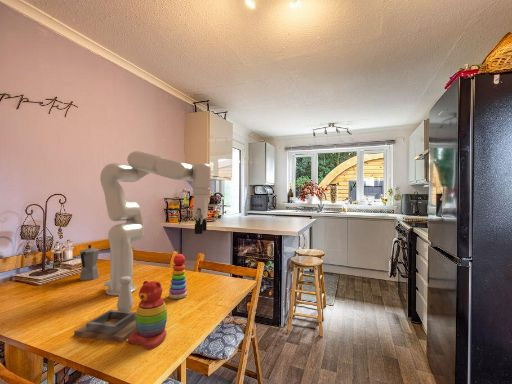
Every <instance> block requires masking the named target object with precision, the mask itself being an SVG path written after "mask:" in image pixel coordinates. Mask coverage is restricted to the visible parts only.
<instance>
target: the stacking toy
mask: <svg viewBox="0 0 512 384" xmlns="http://www.w3.org/2000/svg"><path fill="white" fill-rule="evenodd" d="M172 261H173V263H174V265H173V267H172V268H173V269H172V272H171V273H172V275H171V280H170V285H169V286H170V287H169V289H168V297H169V298H170V299H173V300H178V299H179V300H181V299H183V298H186V297H187V296H188V291H187V282H186V281H187V279H186V274H185V273H186V270H185V268H186V265H185V262H186V258H185V256H184V254H181V253H178V254H175V255H174V257H173V260H172Z"/></svg>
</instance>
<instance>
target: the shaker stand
mask: <svg viewBox="0 0 512 384" xmlns="http://www.w3.org/2000/svg"><path fill="white" fill-rule="evenodd" d="M136 313H137V311H136V312H134V311H128V312H127V311H119V310H118V309H117V310H115V309H109V310H107V311H106V312H104V313H102V314H100V315H98V316H97V317H95V318H93V319H92V320H90V321H87V322H86V323H85V324H84V325H82V326H80V327H79V328H77V329H75V330H74V331H73V336H74V337H79V338H80V337H81V338H87V339H88V338H89V339H96V340H103V341H104V340H105V341H108V342H109V341H110V342H117V343H118V342H119V343H125V342H126V341H128V338H129V336H130V335H131V334H133V333H134V332H136V331H137V327H136V320H135V319H136Z"/></svg>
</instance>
